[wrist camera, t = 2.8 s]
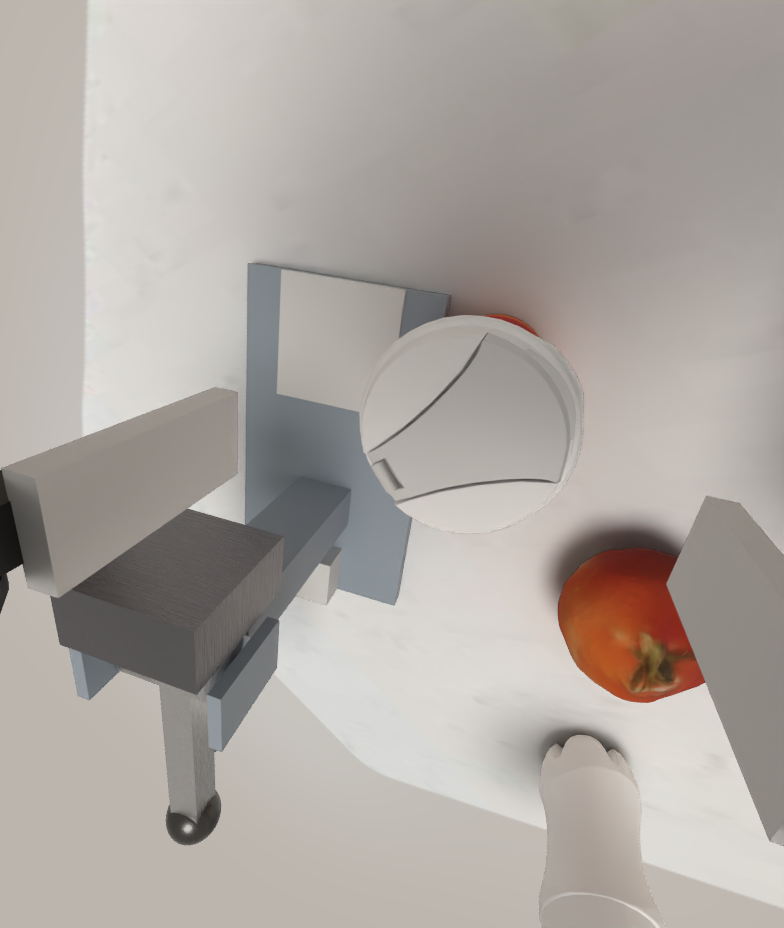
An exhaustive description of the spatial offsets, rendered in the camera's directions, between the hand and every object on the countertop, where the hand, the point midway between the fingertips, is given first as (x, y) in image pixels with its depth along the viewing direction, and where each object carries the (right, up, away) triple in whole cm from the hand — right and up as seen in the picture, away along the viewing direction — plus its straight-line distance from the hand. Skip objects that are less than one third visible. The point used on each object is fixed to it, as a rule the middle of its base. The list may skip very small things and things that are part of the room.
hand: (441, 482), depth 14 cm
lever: (-10, -10, +14) cm, 20 cm away
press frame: (-6, +2, +22) cm, 22 cm away
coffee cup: (+5, +7, +16) cm, 19 cm away
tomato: (+15, -8, +20) cm, 26 cm away
